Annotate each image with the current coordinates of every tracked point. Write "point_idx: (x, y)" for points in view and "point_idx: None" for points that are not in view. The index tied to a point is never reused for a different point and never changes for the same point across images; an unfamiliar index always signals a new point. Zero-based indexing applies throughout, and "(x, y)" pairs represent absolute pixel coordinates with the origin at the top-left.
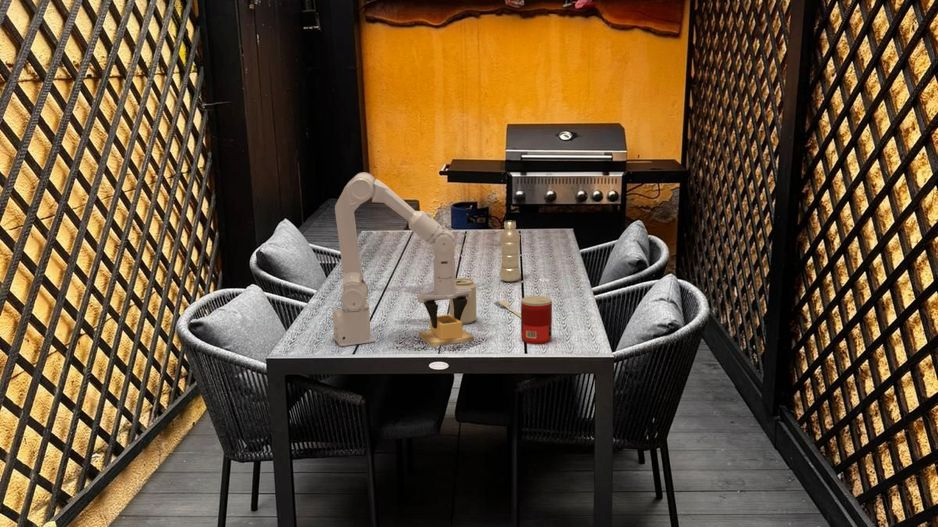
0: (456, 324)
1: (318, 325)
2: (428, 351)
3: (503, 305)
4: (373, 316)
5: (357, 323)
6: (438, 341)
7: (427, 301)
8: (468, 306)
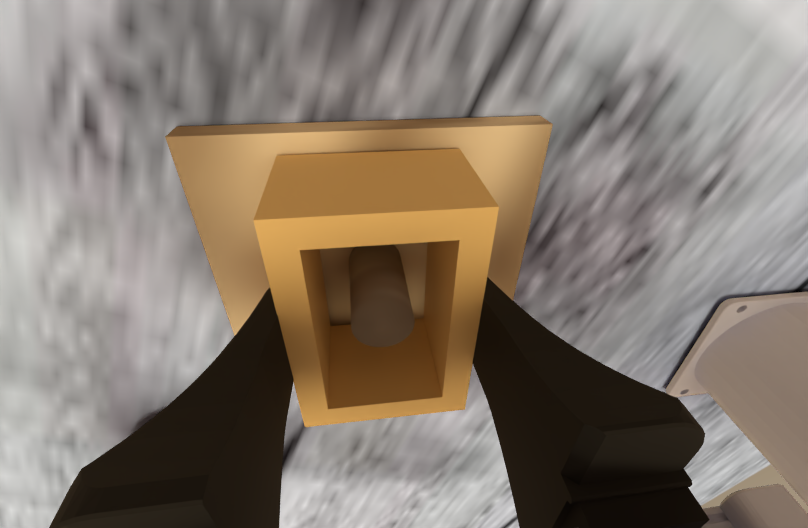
0: (323, 210)
1: (708, 473)
2: (620, 7)
3: None
4: None
5: None
6: (488, 136)
7: (693, 514)
8: None
